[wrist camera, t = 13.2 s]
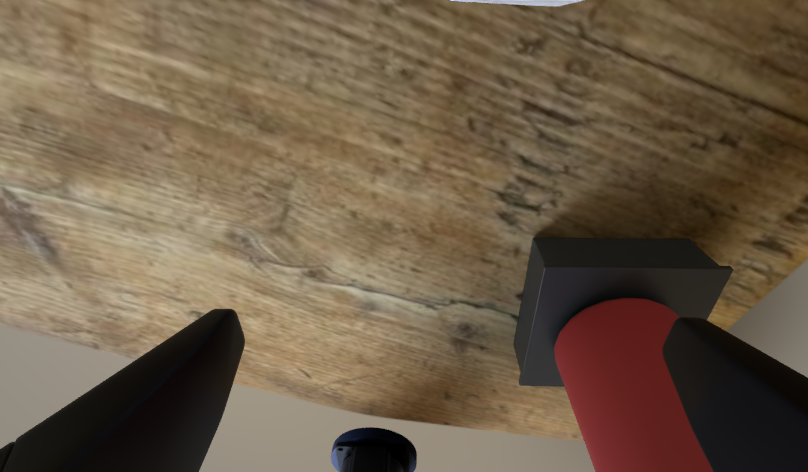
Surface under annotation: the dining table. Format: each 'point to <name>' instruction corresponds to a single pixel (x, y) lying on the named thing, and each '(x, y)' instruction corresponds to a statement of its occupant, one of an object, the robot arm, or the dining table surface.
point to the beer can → (626, 388)
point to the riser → (605, 288)
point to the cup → (526, 2)
